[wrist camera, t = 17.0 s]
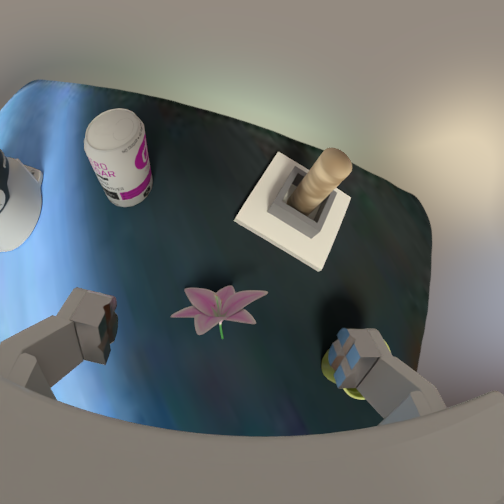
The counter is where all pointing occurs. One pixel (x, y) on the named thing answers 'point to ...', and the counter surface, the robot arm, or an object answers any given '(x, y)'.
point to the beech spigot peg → (320, 180)
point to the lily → (218, 307)
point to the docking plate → (292, 214)
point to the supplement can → (119, 156)
